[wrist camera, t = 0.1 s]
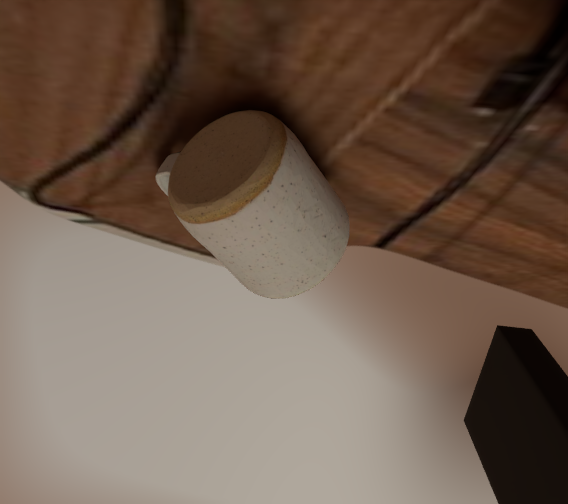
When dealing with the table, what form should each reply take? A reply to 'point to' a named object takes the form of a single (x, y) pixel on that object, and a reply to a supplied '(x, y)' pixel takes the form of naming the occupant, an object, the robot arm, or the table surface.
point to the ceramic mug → (257, 203)
